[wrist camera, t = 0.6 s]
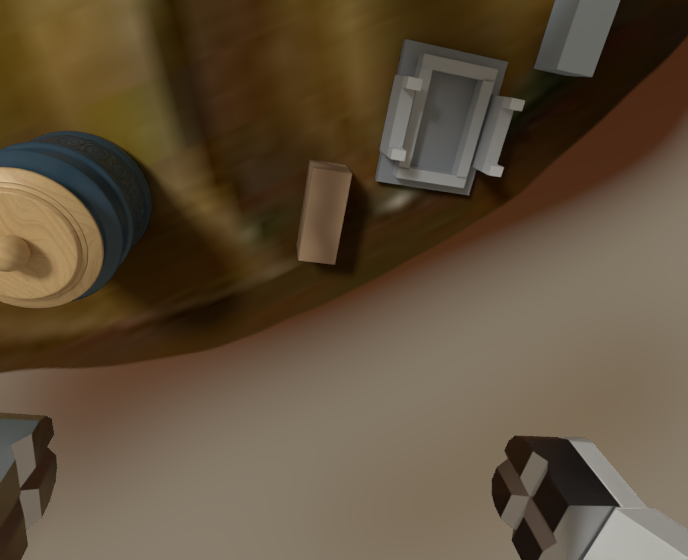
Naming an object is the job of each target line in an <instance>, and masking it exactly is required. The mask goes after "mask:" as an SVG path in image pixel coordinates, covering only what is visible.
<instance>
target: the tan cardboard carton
mask: <svg viewBox="0 0 688 560" xmlns="http://www.w3.org/2000/svg"><path fill="white" fill-rule="evenodd" d="M351 177H352V173H351V172H350V170H349V169H348V167H347V166H346V165H341V164H335V163H329V162H322V161H316V160H309V167H308V174H307V180H306V187H305V193H304V200H303V207H302V213H301V220H300V226H299V233H298V240H297V253H298V260H299V261H308V262H316V263H325V264H334V265H335V261H336V256H337V251H338V246H339V240H340V235H341V230H342V225H343V219H344V214H345V209H346V204H347V198H348V193H349V188H350V183H351Z"/></svg>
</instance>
